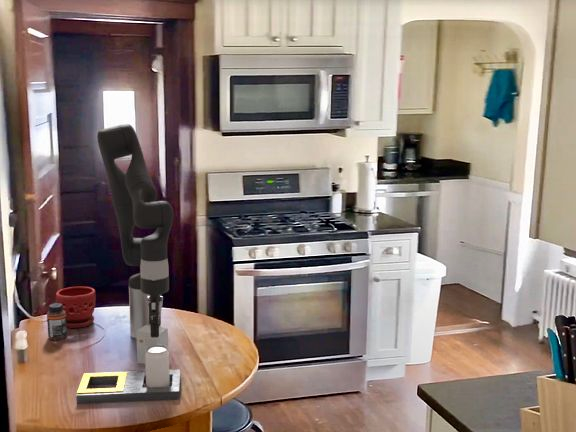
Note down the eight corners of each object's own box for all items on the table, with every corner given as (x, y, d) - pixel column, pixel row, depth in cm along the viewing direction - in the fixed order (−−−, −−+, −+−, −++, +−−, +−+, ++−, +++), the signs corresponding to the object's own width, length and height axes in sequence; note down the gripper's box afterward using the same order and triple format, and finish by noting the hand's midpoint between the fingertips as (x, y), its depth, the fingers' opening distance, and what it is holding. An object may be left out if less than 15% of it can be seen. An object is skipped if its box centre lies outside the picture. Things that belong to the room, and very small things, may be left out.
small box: (169, 360, 216) (168, 327, 214) (160, 367, 211) (159, 334, 209) (146, 356, 219) (145, 324, 217) (136, 363, 214) (135, 330, 212)
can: (164, 395, 193) (163, 354, 191) (142, 393, 194) (141, 352, 192) (173, 385, 199) (172, 345, 197) (151, 383, 201) (150, 343, 198)
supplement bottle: (50, 334, 236) (48, 302, 233) (68, 333, 236) (67, 301, 234) (46, 341, 230) (44, 308, 228) (64, 340, 230) (63, 307, 228)
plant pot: (104, 323, 247) (102, 290, 244) (70, 333, 237) (69, 299, 234) (83, 314, 255) (81, 282, 252) (50, 323, 245) (48, 290, 243)
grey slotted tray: (180, 377, 204) (180, 368, 204) (179, 399, 191) (178, 390, 190) (84, 381, 201) (84, 372, 201) (76, 404, 188) (76, 394, 187)
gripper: (142, 267, 196) (144, 322, 200) (138, 282, 183) (139, 341, 186) (169, 267, 197) (170, 321, 201) (167, 281, 184) (168, 340, 187)
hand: (155, 331), depth 193 cm, fingers open, 8 cm apart
